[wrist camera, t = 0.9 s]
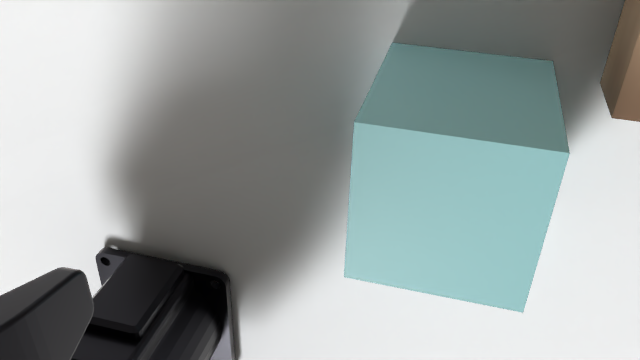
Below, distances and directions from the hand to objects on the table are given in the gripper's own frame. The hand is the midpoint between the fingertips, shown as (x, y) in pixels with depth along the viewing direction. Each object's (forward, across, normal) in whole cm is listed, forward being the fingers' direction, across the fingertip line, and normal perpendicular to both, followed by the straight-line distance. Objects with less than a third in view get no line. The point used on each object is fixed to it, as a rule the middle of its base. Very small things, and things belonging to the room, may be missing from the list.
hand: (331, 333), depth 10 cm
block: (+12, -2, +2) cm, 12 cm away
